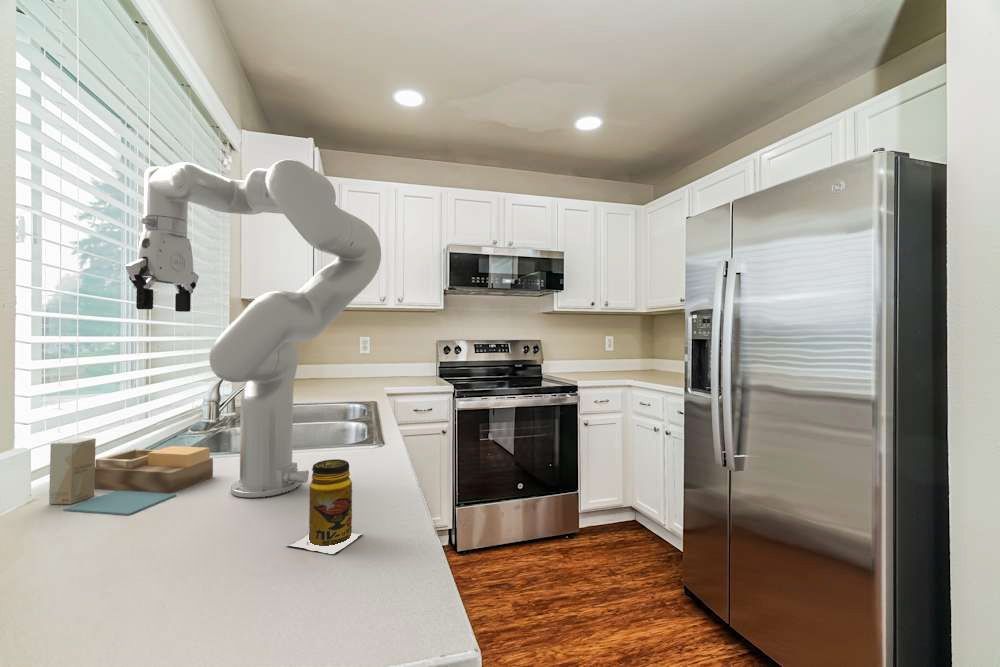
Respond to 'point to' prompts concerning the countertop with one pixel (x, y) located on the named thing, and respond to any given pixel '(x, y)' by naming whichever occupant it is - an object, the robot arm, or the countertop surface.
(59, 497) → the box
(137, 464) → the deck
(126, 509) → the mat
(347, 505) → the condiment
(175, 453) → the tan rectangular block
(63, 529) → the countertop surface
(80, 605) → the countertop surface
